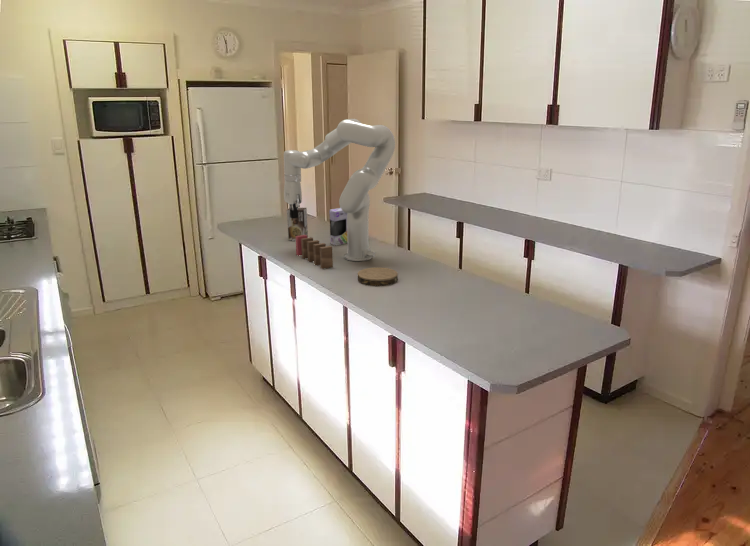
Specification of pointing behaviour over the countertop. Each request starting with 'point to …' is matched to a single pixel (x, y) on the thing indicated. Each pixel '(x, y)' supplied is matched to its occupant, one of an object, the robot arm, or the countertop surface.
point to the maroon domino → (299, 244)
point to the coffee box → (297, 224)
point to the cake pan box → (338, 226)
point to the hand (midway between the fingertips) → (294, 217)
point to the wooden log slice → (377, 276)
